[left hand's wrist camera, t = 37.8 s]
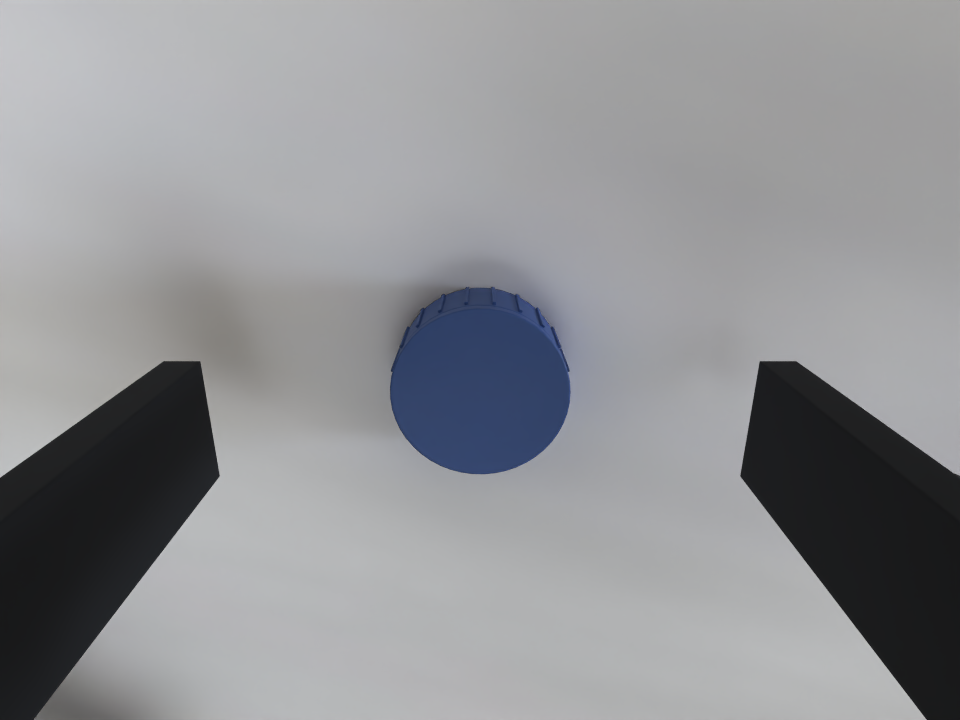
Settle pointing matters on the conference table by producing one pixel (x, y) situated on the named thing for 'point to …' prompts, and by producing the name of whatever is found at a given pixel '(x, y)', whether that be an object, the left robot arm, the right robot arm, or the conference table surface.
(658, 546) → the conference table surface
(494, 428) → the cap
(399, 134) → the conference table surface
